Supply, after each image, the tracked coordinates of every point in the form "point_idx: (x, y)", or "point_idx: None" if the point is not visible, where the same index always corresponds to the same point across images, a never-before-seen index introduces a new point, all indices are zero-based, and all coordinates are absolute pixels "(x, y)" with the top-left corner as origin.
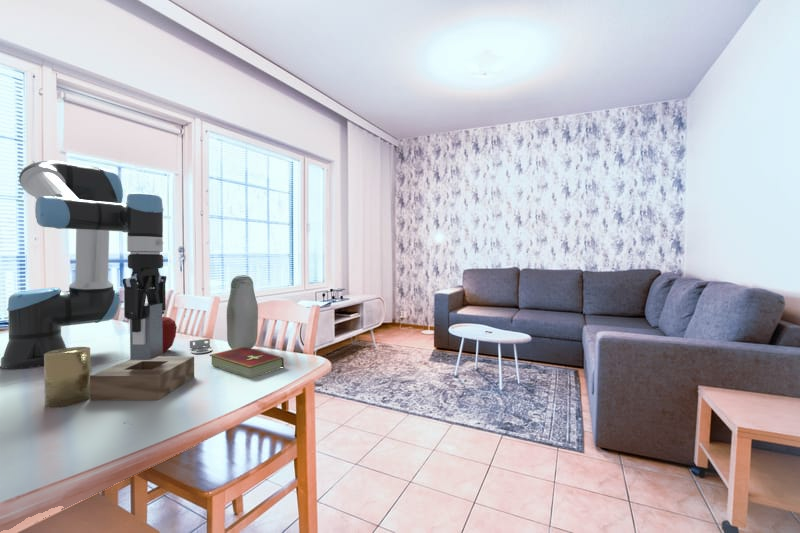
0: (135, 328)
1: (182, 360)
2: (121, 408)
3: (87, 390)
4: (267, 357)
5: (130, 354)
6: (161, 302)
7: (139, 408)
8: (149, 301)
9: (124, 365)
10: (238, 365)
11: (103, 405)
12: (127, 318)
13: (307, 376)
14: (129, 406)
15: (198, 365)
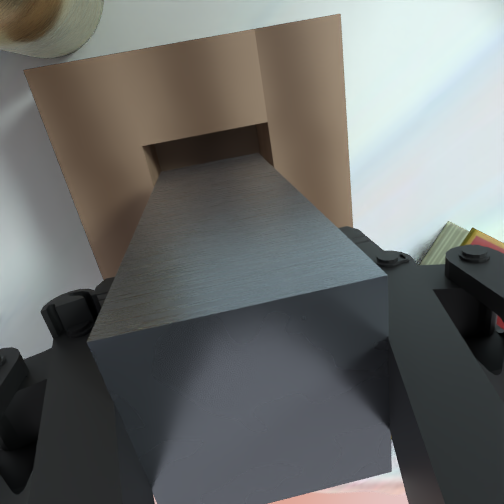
0: None
1: None
2: (56, 240)
3: (52, 52)
4: None
5: (158, 178)
6: (497, 382)
7: (75, 286)
8: (392, 376)
9: (192, 95)
10: None
11: (50, 165)
12: (52, 307)
13: (353, 491)
14: (75, 249)
15: (449, 175)
